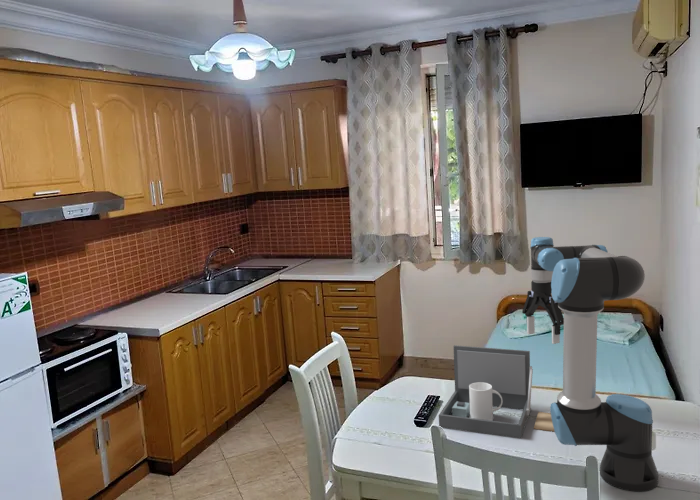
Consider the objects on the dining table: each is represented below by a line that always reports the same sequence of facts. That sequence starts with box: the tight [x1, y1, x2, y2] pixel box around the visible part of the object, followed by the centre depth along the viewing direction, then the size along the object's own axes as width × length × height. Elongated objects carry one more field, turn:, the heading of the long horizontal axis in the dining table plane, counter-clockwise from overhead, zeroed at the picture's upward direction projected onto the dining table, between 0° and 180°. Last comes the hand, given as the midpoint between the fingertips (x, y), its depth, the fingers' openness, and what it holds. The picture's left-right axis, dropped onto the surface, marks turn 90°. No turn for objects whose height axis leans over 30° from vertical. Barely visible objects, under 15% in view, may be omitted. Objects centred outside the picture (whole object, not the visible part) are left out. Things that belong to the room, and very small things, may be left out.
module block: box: [451, 401, 470, 418], centre depth 213 cm, size 6×5×5 cm
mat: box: [533, 411, 555, 433], centre depth 203 cm, size 14×14×1 cm
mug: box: [468, 382, 503, 421], centre depth 209 cm, size 12×8×12 cm
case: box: [438, 344, 534, 439], centre depth 208 cm, size 24×29×22 cm
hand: (543, 338), depth 210 cm, fingers open, 13 cm apart
